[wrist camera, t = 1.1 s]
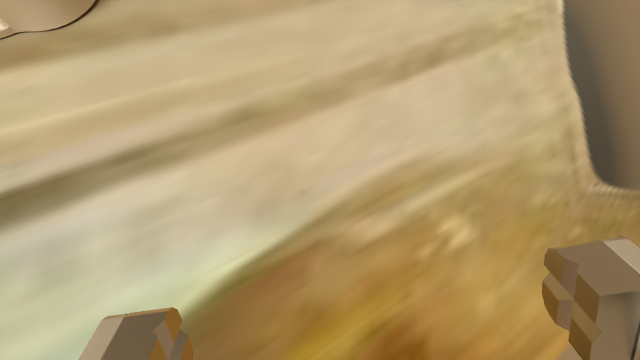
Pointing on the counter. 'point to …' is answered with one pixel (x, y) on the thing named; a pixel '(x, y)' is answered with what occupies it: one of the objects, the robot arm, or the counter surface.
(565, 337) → the counter surface
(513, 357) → the counter surface
